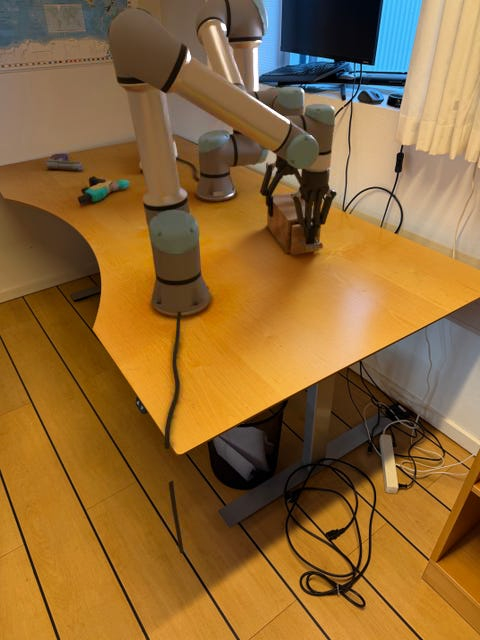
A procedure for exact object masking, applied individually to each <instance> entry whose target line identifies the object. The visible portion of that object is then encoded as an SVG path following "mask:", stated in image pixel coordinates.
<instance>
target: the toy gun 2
mask: <svg viewBox="0 0 480 640" xmlns="http://www.w3.org/2000/svg"><path fill="white" fill-rule="evenodd" d="M88 183H89V187H88V186H85V187H83V188H81V190H80V191H81V193H82V195H80V196H78V197H77V201H78V203H79V205H83V204H86V203H88V202H90V201H91V202H93V203H94V202H97V201H101V200H102V199H104V198H105V197H106V196H108V195H109V194H110V193H111V192H116V191H118V190H120V191H123V190H126V189H127V188H128V187H129V186H130V181H129V180H127V179H119V180H117V182H113V181H112V180H109V179H105V178H104V179H101V178H98V177H96V176H95V175H93V176H90V177H89V178H88Z"/></svg>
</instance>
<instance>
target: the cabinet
mask: <svg viewBox="0 0 480 640" xmlns="http://www.w3.org/2000/svg"><path fill="white" fill-rule="evenodd" d="M297 192H298V191H292V192H284V193H275V194H272V196H273V217H270V215H269V214H268V208H267V213H266V215H267V216H266V220H267V221H266V227H267V228H268V230H269V231H270V233H272V235H273V237H274V238H275V239H276V241H277V242H278V244H279V245H280V246H281V248H282V249H283V251H284V252H285V253H286V254H291V253H290V250H291V248H290V230H291V223H292V222H298V220H297V215H296V209H295V204H294V201H293V199H292V198H291V194H295V193H297ZM300 202H301V206H302V211H303V217H304V213H305V200H304V199H303V198H302V197H301V200H300ZM312 218H313V208H312V217H311V220H312Z"/></svg>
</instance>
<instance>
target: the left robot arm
mask: <svg viewBox="0 0 480 640" xmlns="http://www.w3.org/2000/svg"><path fill="white" fill-rule="evenodd" d="M107 43H108V48H109V52H110V55H111V58H112V63H113V67H114V73H115V77H116V81H117V82H116V83H117V85H119V86H120V87H121V88H122V89H123V90H125V93H126V96H127V101H128V106H129V110H130V116H131V121H132V125H133V130H134V135H135V140H136V145H137V149H138V150H137V151H138V155H139V160H140V162H141V165H142V169H141V170H142V174H143V179H144V184H145V189H146V192H145V193H144V194H143V197H142V204H143V209H144V214H145V220H146V224H147V228H148V237H149V241H150V245H151V253H152V260H153V261H152V262H153V268H154V274H155V275H154V276H155V281H154V284H153V290H152V294H151V305H152V308H153V310H154V311H155V312H156V313H157V314H159V315H160V316H163V317H167V318H171V319H176V328H175V340H174V346H173V351H172V372H173V376H174V382H175V383H174V388H175V389H174V395H173V398H172V401H171V403H170V406H169V409H168V412H167V416H166V422H165V427H164V449H165V450H168V449H170V447H171V446H170V445H171V443H170V442H171V441H170V440H171V437H170V436H171V424H172V418H173V414H174V411H175V408H176V405H177V402H178V399H179V394H180V376H179V372H178V366H177V365H178V364H177V359H178V358H177V356H178V350H179V345H180V344H179V343H180V335H181V320H182V319H183V318H185V319H186V318H190V317H194V316H196V315H199V314H201V313H202V312H204V311H205V310H207V308H208V307H209V306H210V303H211V294H210V293H211V292H210V288H209V286H208V285H207V284H206V281H205V278H204V277H203V275H202V262H201V261H202V259H201V247H200V228H199V225H198V221H197V219H196V218H195V216H194V215H193V214H191V210H190V208H191V207H190V204H189V203H190V202H189V196H188V195H189V194H188V192H187V190H185V189H184V188H183V187H182V186H181V182H180V176H179V169H178V164H177V159H176V158H177V157H175V151H174V145H173V138H172V135H173V134H172V127H171V120H170V114H169V107H168V102H167V101H168V100H167V96H166V95H169V94H172V93H173V94H176V95H177V96H179V97H181V98H183V99H184V100H186V102H189V103H190V104H192V105H194V106H196V107H197V108H199V109H201V110H202V111H204V112H206V113H208V115H210V116H212V117H214V118H216V119H217V120H219V121H220V122H222V123H223V124H226V126H229V127H230V128H232V129H233V128H234V129H235V130H237V131H239V132H240V133H242V134H244V135H245V136H247V137H249V138H250V139H252V140H254V141H255V142H257V143H259V146H260V148H261V149H262V150H269V152H272V153H273V154H274V155H275V156H276V155H278V156H280V157H281V158H283V159H284V160H286V161H287V162H288V164H290V165H291V166H293V167H295V168H297V169H298V170H301V173H300V176H301V186H300V185H299V187H298V191H296V192H297V193H295V194H291V198H292V199H293V201H294V204H295V209H296V215H297V220H298V224H299V225H300V226H301V227H302V228H303V227H304V237H305V238H306V244H314V240H315V237H317V235H318V229H319V228H320V225H321V226H324V225H325V224H326V222H327V218H328V215H329V213H330V210H331V207H332V204H333V200H334V199H335V198H336V196H337V195H338V193H337V192H336V190H334V189H333V188H330V185H329V182H330V173H331V170H330V168H331V162H332V150H333V140H334V131H335V126H336V124H335V123H336V122H335V121H336V110H335V108H334V106H332V105H330V104H327V103H312V104H308V105H307V106H305V107H304V113H303V115H300V116H286V117H283V116H281V115H280V114H278V113H277V112H275V111H274V110H272V109H270V108H269V107H267V106H266V105H264V104H263V103H261V102H260V101H258V100H257V99H255V98H254V97H252V96H251V95H249V94H248V93H246V92H245V91H243V90H242V89H240V88H239V87H237V86H236V85H234V84H233V83H231V82H230V81H228V80H227V79H225V78H224V77H222V76H221V75H219V74H218V73H216V72H215V71H213V69H212V68H210V67H208V66H207V65H206V64H204V63H203V62H201V61H199V60H198V59H197V58H195V57H193V56H192V55H191V53H190V49H189V47H188V46H187V45H185V44H184V43H182V42H181V41H179V40H178V39H177V38H176V37H174V36H173V35H172V34H171V33H170V32H169V31H168V30H167V29H166V28H165V27H164V26H163V25H162V24H161V23H160V21H159V20H157V18H156V17H155V16H154V15H153V14H152V13H151V12H149V11H148V10H146V9H144V8H142V7H138V6H137V7H131V6H130V7H125V8H122V9H120V10H119V11H117V12H116V13H115V14H114V15H113V17H112V18H111V20H110V22H109V24H108V28H107ZM301 195H302V196H303V198H304V199H305V213H304V217H303V211H302V206H301V202H300V200H301ZM323 199H324V200H323ZM312 209H313V218H312V224H313V225H311V217H312ZM174 485H175V484H174V480H171V481H169V482H168V487H169V488H168V489H169V490H168V491H169V497H170V503H171V504H170V505H171V510H172V515H173V522H174V527H175V532H176V538H177V543H178V550H179V553H180V554H183V553H184V545H183V539H182V538H183V537H182V532H181V525H180V520H179V515H178V509H177V502H176V493H175V486H174Z"/></svg>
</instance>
